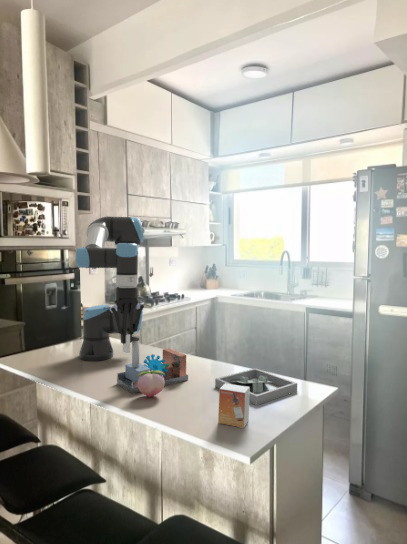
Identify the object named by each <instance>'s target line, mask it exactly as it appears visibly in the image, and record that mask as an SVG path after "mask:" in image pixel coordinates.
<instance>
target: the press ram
mask: <svg viewBox="0 0 407 544" xmlns="http://www.w3.org/2000/svg"><path fill="white" fill-rule="evenodd" d="M124 367H125V368H124V369H125V371H124V372H125V377H126V378H128V379H129V380H131V381H133V382H134V381H138V379H139V377H140V376H138V375H139V374H140V373H141V372H143V371H151V370H150V368H148V367H146V366H144V364H142V363H140V336H137V335H134V336H133V335H132V342H131V362H130V363H127V364H125V366H124ZM137 376H138V377H137Z"/></svg>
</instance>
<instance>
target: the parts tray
mask: <svg viewBox="0 0 407 544" xmlns="http://www.w3.org/2000/svg"><path fill="white" fill-rule="evenodd" d="M240 376H241V377H242V376H243V377H246V378H247V377H248V380H250V379H252V378H256V379H259V376H264V377H267V380H269V381H271V382H269V383H271V384H274V385H276V386H279V387H276V388H273V389H270V390H267V391H263V393H261V392H260V393H253V391H252V392H251V391H250V397H249V403H251V404H253V405H255V406H258V405H262V404H265V403H267V402H270V401H272V400H276V399H278V398H282V397H284V395H285V396H287V394H288V395H290V394H289V393H291V394H293V393H292V392H294V393H296V392H297V391H298V382H296V381H293V380H289V379H287V378H284V377H281V376H278V375H276V374H272V373H269V372H268V371H265V370H261V369H259V368H251V369H247V370H243V371H239V372H235V373H231V374H228V375H224V376H221V377H216V378H215V379H214V380H215V382H214V383H215V384H214V386H215V388H218V389H220V388H221V387H222V386H223V385H224V384H225V383H227V384H232V385H234V384H233V383H235V382H231V381H239V380H240ZM295 391H296V392H295ZM281 396H282V397H281Z"/></svg>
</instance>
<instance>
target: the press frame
mask: <svg viewBox="0 0 407 544" xmlns="http://www.w3.org/2000/svg"><path fill="white" fill-rule="evenodd" d="M162 359H164V360H165V362H164V363H162V364H167V363H169V364H170V365H169V366H168V367H167V370H168V371H167V372H166V373H164V370H163V373H164V374H165V376H164V381H165V385H164V387H166V386H171V385H173V384H177V383H181V382H187V381H188V380H189V374H187V354H185V353H182V352H180V351H177V350H175V349H172V348H169V347H168V348H163V349H162ZM116 384H117V385H118V386H119V387H121V388H123V389H124V390H126V391H127V392H129V393H131V394H132V395H133V394H137V393H138V394H139V393H141V392H140V390H139V388H138V381H134V382H133V381H131V380H129V379H128V378H126V377H125V371H122V372H118V373H116Z"/></svg>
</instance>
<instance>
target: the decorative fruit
mask: <svg viewBox="0 0 407 544" xmlns="http://www.w3.org/2000/svg"><path fill="white" fill-rule="evenodd" d="M150 370H151V368H150ZM162 374H164V373H163V372H162V371H159V370H155V371H143V372H141V373H140V374H139V375H138V376H140V377H139V379H138V388H139V390H140V392H139V393H141V394H142V395H144V396H146V397H148V398H152V397H153V398H154V397H155V396H156V395H158V394H159V393H160V392H162V390H163V389H164V387H165V386H164V385H165V381H164V377H163V375H162ZM164 375H165V374H164ZM138 376H137V377H138Z"/></svg>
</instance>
